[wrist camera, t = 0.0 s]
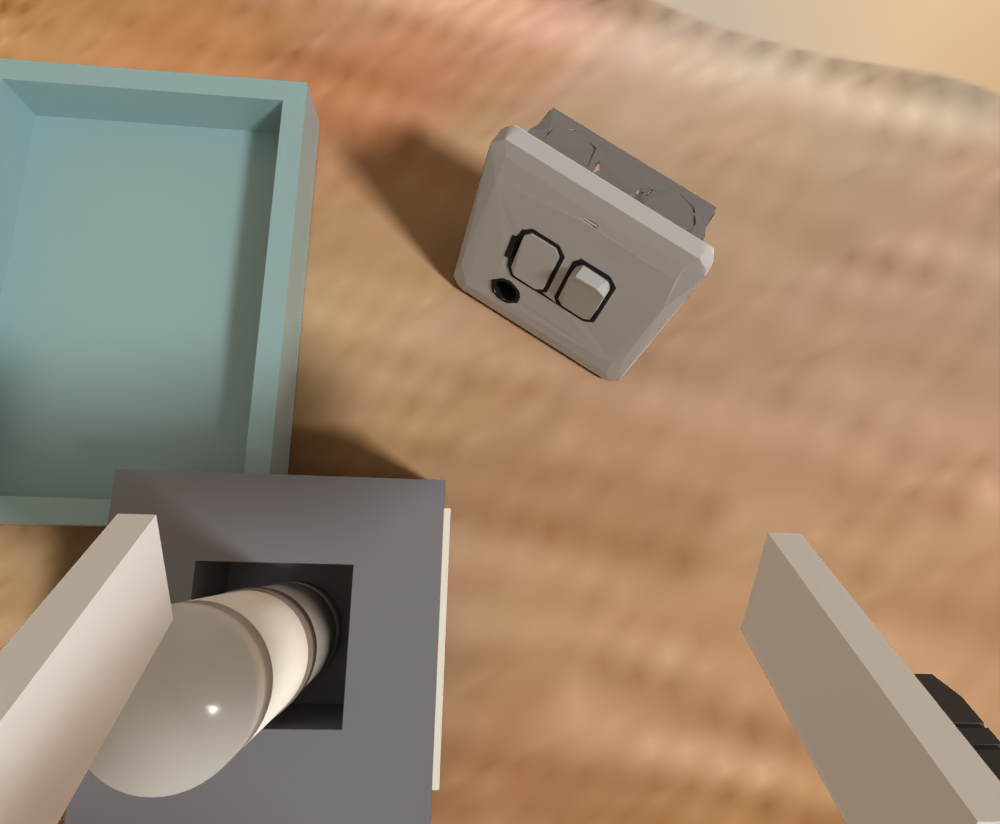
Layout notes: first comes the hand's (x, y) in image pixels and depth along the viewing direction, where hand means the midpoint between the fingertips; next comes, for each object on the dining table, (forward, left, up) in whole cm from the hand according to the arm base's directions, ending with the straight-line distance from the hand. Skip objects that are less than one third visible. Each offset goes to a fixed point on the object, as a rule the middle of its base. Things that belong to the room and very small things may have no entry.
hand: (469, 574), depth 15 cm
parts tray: (+11, +15, -15) cm, 24 cm away
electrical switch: (+13, -4, -16) cm, 21 cm away
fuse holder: (-3, +7, -15) cm, 17 cm away
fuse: (-3, +7, -14) cm, 16 cm away
